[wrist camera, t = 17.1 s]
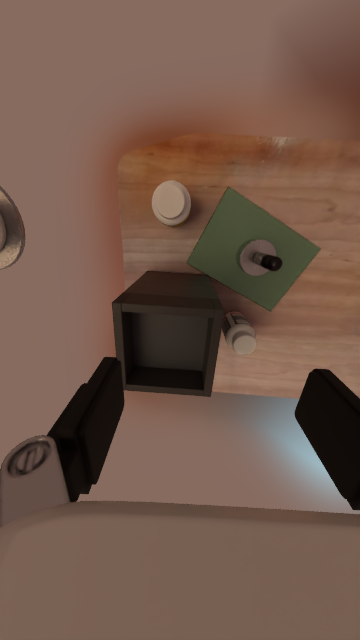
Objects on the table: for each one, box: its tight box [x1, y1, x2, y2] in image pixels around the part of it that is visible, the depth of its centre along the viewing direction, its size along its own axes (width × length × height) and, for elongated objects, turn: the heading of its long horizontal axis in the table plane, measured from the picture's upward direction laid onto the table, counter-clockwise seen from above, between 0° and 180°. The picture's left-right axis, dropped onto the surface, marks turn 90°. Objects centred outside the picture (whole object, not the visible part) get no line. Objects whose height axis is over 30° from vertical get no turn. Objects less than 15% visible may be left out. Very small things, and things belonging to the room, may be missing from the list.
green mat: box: [187, 187, 320, 311], centre depth 37 cm, size 20×14×1 cm
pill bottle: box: [222, 312, 257, 355], centre depth 39 cm, size 5×5×10 cm
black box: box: [112, 271, 224, 397], centre depth 33 cm, size 12×12×20 cm
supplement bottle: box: [152, 180, 191, 227], centre depth 31 cm, size 6×6×10 cm
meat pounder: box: [236, 239, 283, 276], centre depth 32 cm, size 6×6×12 cm
